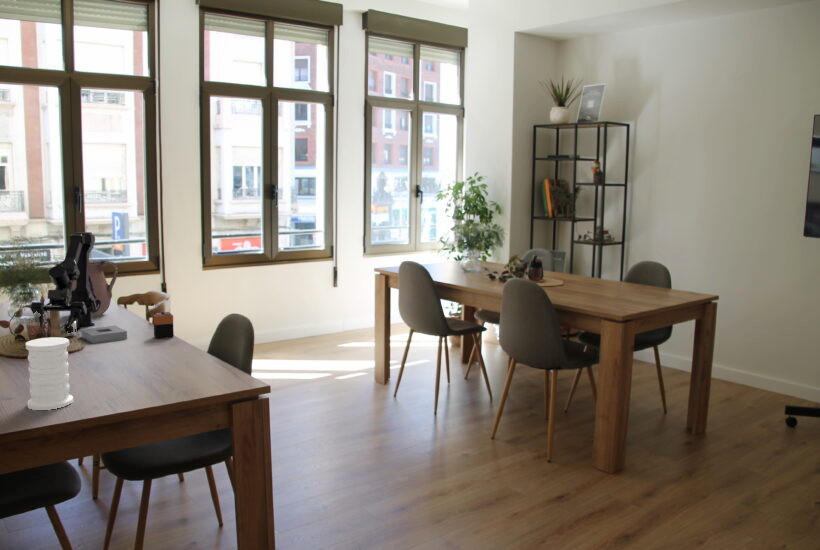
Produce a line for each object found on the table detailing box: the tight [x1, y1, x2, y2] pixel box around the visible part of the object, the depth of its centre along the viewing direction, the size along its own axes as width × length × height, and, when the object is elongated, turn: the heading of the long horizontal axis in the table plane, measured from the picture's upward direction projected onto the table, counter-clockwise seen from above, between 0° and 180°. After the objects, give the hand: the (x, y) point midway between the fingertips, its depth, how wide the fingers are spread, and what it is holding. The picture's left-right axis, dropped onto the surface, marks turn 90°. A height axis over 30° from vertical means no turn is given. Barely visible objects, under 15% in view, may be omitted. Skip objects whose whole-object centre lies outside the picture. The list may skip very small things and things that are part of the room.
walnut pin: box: [49, 311, 62, 338], centre depth 264 cm, size 3×3×13 cm
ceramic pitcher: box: [68, 258, 119, 317], centre depth 318 cm, size 18×21×25 cm
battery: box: [153, 311, 175, 340], centre depth 281 cm, size 4×7×10 cm, turn 121°
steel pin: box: [66, 320, 78, 337], centre depth 279 cm, size 3×3×6 cm
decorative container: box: [25, 336, 74, 411], centre depth 198 cm, size 12×12×18 cm
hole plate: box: [81, 325, 128, 344], centre depth 278 cm, size 13×13×3 cm
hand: (54, 327), depth 263 cm, fingers open, 9 cm apart
